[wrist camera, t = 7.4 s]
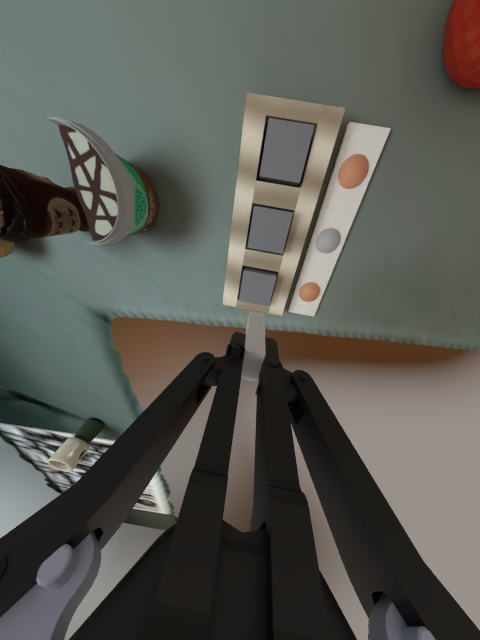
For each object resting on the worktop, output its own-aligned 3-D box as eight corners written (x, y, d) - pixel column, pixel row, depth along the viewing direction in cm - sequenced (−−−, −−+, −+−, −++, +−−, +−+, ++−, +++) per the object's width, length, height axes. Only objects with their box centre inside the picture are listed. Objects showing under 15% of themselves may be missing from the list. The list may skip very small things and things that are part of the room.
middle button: (255, 208, 26) (254, 205, 23) (289, 214, 26) (293, 212, 23) (248, 245, 28) (247, 247, 26) (280, 251, 28) (282, 254, 25)
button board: (248, 108, 22) (246, 92, 19) (335, 122, 22) (345, 108, 19) (225, 298, 35) (222, 304, 32) (280, 308, 34) (281, 315, 32)
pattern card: (347, 124, 22) (350, 120, 21) (387, 130, 22) (391, 127, 21) (287, 310, 34) (288, 312, 34) (313, 315, 34) (314, 316, 33)
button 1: (245, 266, 30) (243, 270, 27) (275, 271, 30) (276, 276, 27) (240, 294, 32) (238, 300, 30) (268, 299, 32) (268, 306, 29)
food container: (170, 244, 31) (133, 252, 22) (136, 241, 31) (88, 247, 23) (159, 151, 25) (105, 111, 16) (119, 149, 25) (44, 109, 17)
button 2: (268, 131, 23) (268, 117, 20) (308, 137, 22) (314, 125, 20) (259, 181, 25) (259, 175, 22) (295, 187, 25) (299, 182, 22)
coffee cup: (113, 210, 29) (18, 199, 18) (96, 248, 33) (7, 260, 21) (62, 165, 27) (-83, 120, 16) (49, 211, 30) (-77, 202, 19)
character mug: (99, 432, 66) (65, 475, 54) (81, 422, 64) (42, 465, 52) (112, 422, 61) (77, 467, 50) (93, 411, 59) (53, 455, 48)
